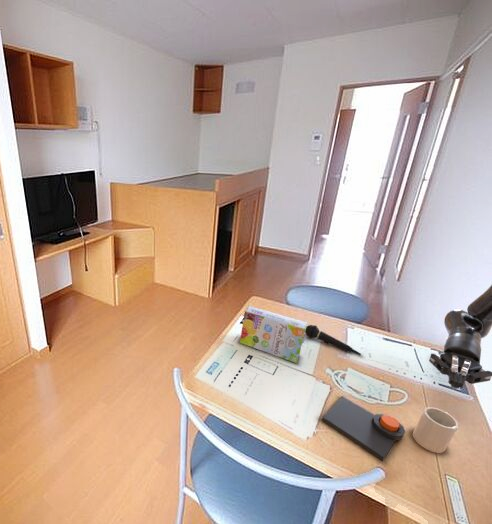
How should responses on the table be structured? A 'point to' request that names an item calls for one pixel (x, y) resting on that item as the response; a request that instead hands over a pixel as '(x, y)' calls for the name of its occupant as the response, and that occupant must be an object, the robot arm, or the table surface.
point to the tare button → (389, 423)
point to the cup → (435, 429)
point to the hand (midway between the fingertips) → (455, 385)
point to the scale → (362, 427)
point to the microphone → (327, 338)
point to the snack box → (273, 333)
